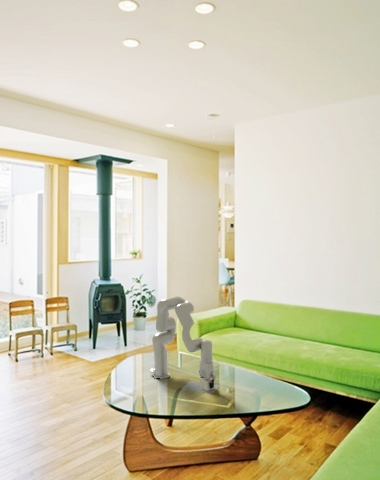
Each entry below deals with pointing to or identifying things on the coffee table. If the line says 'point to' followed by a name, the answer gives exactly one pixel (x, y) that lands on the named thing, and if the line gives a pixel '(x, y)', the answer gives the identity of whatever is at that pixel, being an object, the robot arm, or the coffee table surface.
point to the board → (198, 387)
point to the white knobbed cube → (205, 384)
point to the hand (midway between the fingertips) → (207, 385)
